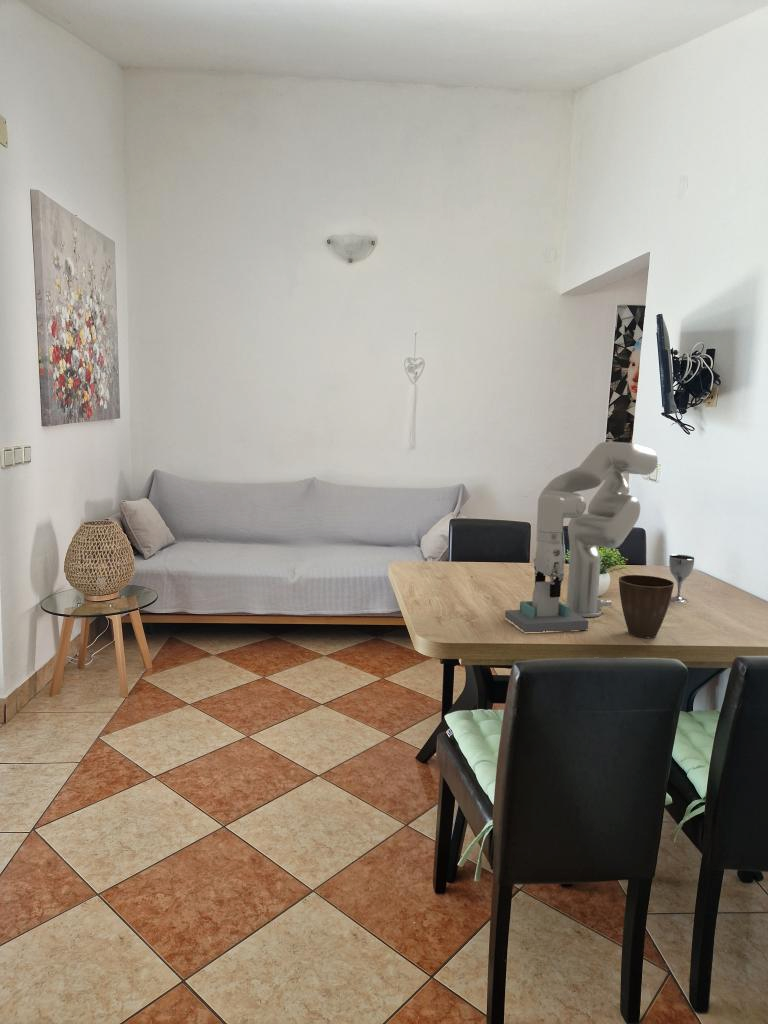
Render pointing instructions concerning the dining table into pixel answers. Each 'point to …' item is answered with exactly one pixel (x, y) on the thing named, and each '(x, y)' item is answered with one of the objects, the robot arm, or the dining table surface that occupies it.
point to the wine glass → (680, 571)
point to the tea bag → (544, 600)
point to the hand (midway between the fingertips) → (547, 592)
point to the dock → (546, 619)
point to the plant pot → (644, 603)
